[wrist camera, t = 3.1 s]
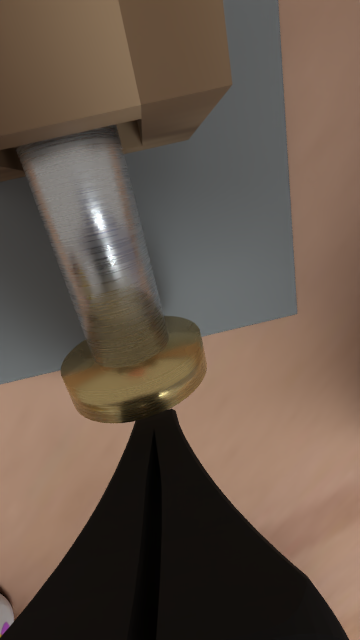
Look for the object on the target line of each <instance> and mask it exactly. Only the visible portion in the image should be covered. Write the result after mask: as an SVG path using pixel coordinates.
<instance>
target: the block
mask: <svg viewBox="0 0 360 640" xmlns="http://www.w3.org/2000/svg"><path fill="white" fill-rule="evenodd" d="M231 86H232V76H231V67H230V59H229V50H228V41H227V33H226V24H225V15H224V7H223V0H0V182H2V181H7V180H11V179H16V178H20V177H25V176H26V175H25V172H24V170H23V167H22V164H21V161H20V159H19V156H18V153H17V151H16V148H15V147H16V146H21V145H25V144H30V143H34V142H39V141H43V140H48V139H52V138H57V137H61V136H66V135H70V134H75V133H79V132H84V131H89V130H93V129H98V128H102V127H107V126H111V125H117V129H118V133H119V137H120V141H121V145H122V149H123V153H124V154H127V153H132V152H136V151H141V150H145V149H150V148H154V147H159V146H163V145H168V144H172V143H176V142H181V141H185V140H189V138H190V137H191V136H192V135H193V133H194V132H195V131H196V130H197V128H198V127H199V126H200V125H201V123H202V122H203V121H204V120H205V118H206V117H207V116H208V115H209V113H210V112H211V111H212V110H213V108H214V107H215V106H216V105H217V103H218V102H219V101H220V100H221V98H222V97H223V96H224V95H225V93H226V92H227V91H228V90H229V88H230V87H231Z"/></svg>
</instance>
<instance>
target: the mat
mask: <svg viewBox="0 0 360 640" xmlns="http://www.w3.org/2000/svg"><path fill="white" fill-rule="evenodd" d="M223 7H224V15H225V24H226V33H227V41H228V50H229V59H230V67H231V76H232V86H231V87H230V88H229V90H228V91H227V92H226V93H225V95H224V96H223V97H222V98H221V100H220V101H219V102H218V103H217V105H216V106H215V107H214V108H213V110H212V111H211V112H210V113H209V115H208V116H207V117H206V118H205V120H204V121H203V122H202V123H201V125H200V126H199V127H198V128H197V130H196V131H195V132H194V133H193V135H192V136H191V137H190V138H189V140H185V141H181V142H176V143H172V144H168V145H163V146H159V147H154V148H150V149H145V150H141V151H136V152H132V153H127V154H124V157H125V161H126V166H127V170H128V174H129V178H130V182H131V186H132V190H133V194H134V198H135V202H136V206H137V210H138V214H139V218H140V222H141V226H142V230H143V234H144V238H145V242H146V246H147V250H148V254H149V258H150V262H151V266H152V270H153V274H154V278H155V282H156V286H157V290H158V294H159V298H160V302H161V306H162V310H163V315H164V316H176V317H182V318H185V319H188V320H190V321H192V322H194V323H195V324H196V325H197V326H198V328H199V329H200V333H201V337H202V336H206V335H211V334H215V333H219V332H223V331H227V330H232V329H236V328H240V327H244V326H248V325H253V324H257V323H261V322H265V321H270V320H274V319H278V318H282V317H286V316H291V315H295V314H297V300H296V284H295V268H294V251H293V235H292V219H291V202H290V186H289V170H288V153H287V137H286V121H285V104H284V88H283V72H282V55H281V39H280V22H279V6H278V0H223ZM85 339H86V337H85V335H84V332H83V329H82V327H81V324H80V321H79V318H78V316H77V313H76V310H75V308H74V305H73V302H72V300H71V297H70V294H69V291H68V289H67V286H66V283H65V281H64V278H63V275H62V272H61V270H60V267H59V264H58V262H57V259H56V256H55V253H54V251H53V248H52V245H51V243H50V240H49V237H48V235H47V232H46V229H45V226H44V224H43V221H42V218H41V216H40V213H39V210H38V207H37V205H36V202H35V199H34V197H33V194H32V191H31V188H30V186H29V183H28V180H27V178H26V176H25V177H20V178H16V179H11V180H7V181H2V182H0V384H4V383H8V382H12V381H16V380H21V379H25V378H29V377H33V376H38V375H42V374H46V373H50V372H54V371H59V370H61V365H62V363H63V361H64V359H65V357H66V356H67V355H68V354H69V352H71V351H72V350H73V349H74V348H75V347H76V346H77V345H78V344H80V343H81V342H83V341H84V340H85Z"/></svg>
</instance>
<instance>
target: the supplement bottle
mask: <svg viewBox="0 0 360 640" xmlns="http://www.w3.org/2000/svg"><path fill="white" fill-rule="evenodd" d="M13 622H14V614H13V609H12V607H11V605H10V603H9V601H8V600H7V599H6V598H5V597H4V596H3V595H2V594H0V637H1V636H2V635H3V634H4V632H5V631H6V630H7V629H8V628H9V627H10V626H11V624H12V623H13Z"/></svg>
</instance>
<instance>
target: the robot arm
mask: <svg viewBox="0 0 360 640" xmlns="http://www.w3.org/2000/svg"><path fill="white" fill-rule="evenodd" d="M0 640H349V638H348V637H347V635H346V633H345V631H344V629H343V628H342V626H341V624H340V622H339V621H338V619H337V618H336V616H335V615H334V613H333V611H332V610H331V609H330V607H329V606H328V604H327V603H326V601H325V600H324V598H323V597H322V596H321V594H320V593H319V592H318V590H317V589H316V587H315V586H314V585H313V583H312V582H311V581H310V579H309V578H308V577H307V576H306V575H305V574H304V573H303V572H302V571H300V570H299V569H298V568H297V567H296V566H295V565H293V564H292V563H291V562H290V561H289V560H288V559H287V558H286V557H284V556H283V555H282V554H281V553H280V552H279V551H278V550H277V549H276V548H275V547H274V546H273V545H271V544H270V543H269V542H268V541H267V540H266V539H265V538H264V537H263V536H262V535H261V534H260V533H259V532H258V531H257V530H256V529H255V528H254V527H253V526H252V525H251V524H250V523H249V522H248V520H247V519H246V518H245V517H244V516H243V515H242V514H241V513H240V512H239V511H238V510H237V509H236V508H235V507H234V505H233V504H232V503H231V502H230V501H229V500H228V498H227V497H226V496H225V495H224V494H223V492H222V491H221V490H220V489H219V487H218V486H217V485H216V484H215V482H214V481H213V480H212V478H211V477H210V476H209V474H208V473H207V472H206V470H205V469H204V467H203V466H202V464H201V463H200V461H199V460H198V458H197V457H196V455H195V454H194V452H193V450H192V448H191V447H190V445H189V443H188V442H187V440H186V438H185V436H184V434H183V432H182V430H181V427H180V425H179V422H178V418H177V414H176V411H175V410H173V409H169V410H166V411H164V412H161V413H159V414H156V415H154V416H151V417H148V418H145V419H141V420H137V421H135V424H134V427H133V430H132V433H131V436H130V438H129V441H128V443H127V446H126V448H125V450H124V453H123V455H122V457H121V460H120V462H119V464H118V466H117V468H116V471H115V473H114V475H113V477H112V479H111V481H110V483H109V485H108V487H107V488H106V490H105V492H104V494H103V496H102V498H101V500H100V502H99V503H98V505H97V507H96V509H95V510H94V512H93V514H92V515H91V517H90V519H89V520H88V522H87V524H86V525H85V527H84V528H83V530H82V531H81V533H80V534H79V536H78V537H77V539H76V540H75V542H74V544H73V545H72V547H71V548H70V550H69V551H68V552H67V554H66V555H65V557H64V558H63V560H62V561H61V562H60V564H59V565H58V566H57V568H56V569H55V570H54V572H53V573H52V574H51V576H50V577H49V578H48V580H47V581H46V582H45V583H44V585H43V586H42V587H41V589H40V590H39V591H38V593H37V594H36V595H35V597H34V598H33V599H32V600H31V602H30V603H29V604H28V605H27V607H26V608H25V609H24V610H23V612H22V613H21V614H20V615H19V616H18V617H17V619H16V620H15V621H14V622H13V623H12V624H11V626H10V627H9V628H8V629H7V630H6V631H5V632H4V634H3V635H2V636H1V637H0Z"/></svg>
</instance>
